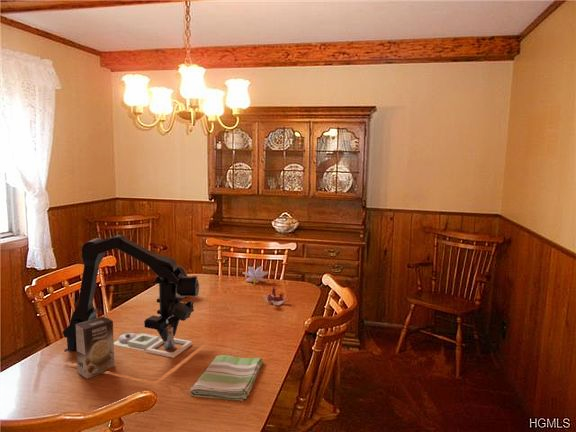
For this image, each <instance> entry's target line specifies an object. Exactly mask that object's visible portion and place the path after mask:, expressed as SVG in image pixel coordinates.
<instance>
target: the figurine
mask: <svg viewBox="0 0 576 432" xmlns="http://www.w3.org/2000/svg"><path fill="white" fill-rule="evenodd" d="M276 287H278V286H277V285H274V286H273V287H271V288H272V289H271V293H269V294H267V296H266V295H265V294H262V296H261V297H262V298H263V299H264V300H265V302H266V303H267V304H268V303H272V304H273V305H274V306H279V307H280V305H282V304H283V303H285V302H287V301H288V298H284V295H285V292H280V293H279V296H277V295H276V291H277V288H276ZM267 304H266V305H267Z"/></svg>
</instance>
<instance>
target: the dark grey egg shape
mask: <svg viewBox="0 0 576 432" xmlns="http://www.w3.org/2000/svg"><path fill="white" fill-rule="evenodd" d="M177 266H178V268H179V269H180V270H181V272H182V273H183V274H184V276H188V273H187V271H186V269H185V268H184V267H183V266H180V265H177ZM174 275H175V274H174ZM176 295H177V297H179V298H180V300H181V299H184V298H186V297H187V296H180V295H178V293H177V284H176Z"/></svg>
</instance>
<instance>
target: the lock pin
mask: <svg viewBox="0 0 576 432" xmlns="http://www.w3.org/2000/svg"><path fill="white" fill-rule="evenodd" d="M174 338H175V336H173V326H171V325H170V326H169V327H168V329H167V341H166V342H165V341H163V342H164V343H163V348H164V351H167V352H170V351H173V350H174V349H175V342H174Z"/></svg>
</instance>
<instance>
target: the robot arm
mask: <svg viewBox="0 0 576 432" xmlns="http://www.w3.org/2000/svg"><path fill="white" fill-rule="evenodd" d="M115 249H116V250H119V251H120V252H122V253H124V254H126V255H127V256H129V257H132V258H133V259H136V260H137V261H139V262H141V263H143V264H144V265H147V267H148V268H149V269H150V270H151V271H152V272H153V273H154V274H156V277H155V279H154V280H153V281H152V284H154V285H158V291H159V292H158V298H157V299H156V303H158V304H159V309H158V310H156V314H158V315H159V316H158V315H151V316H149V317H147V318H146V319H145V320H144V322H143V325H144V328H147V329H152V330H155V331H157V333H158V334H159V337H161V338H160V339H162V340H163V341H165V342H166V341H167V329H168V327H169V326H170V325H171V326H173V336H174V337H175V336H176V332H177V330H178V327H179V323H180V322H181V321H183V322H185V321H186V320H187V319H189V318H191V315H192V313H193V312H194V310H195V309H194V302H193V301H191V300H189V301H186V302H181V299H180V298H179V297H177V295H176V284H177V293H178V295H180V296H186V297H198V295H199V294H200V293H199V292H200V283H199V279H198V276H197V275H191V276H188V275H187V276H184V274H183V273H182V272H181V270H180V269H179V268H178V266H179V265H178V262H177V260H176V259H175V258H172V257H169V256H167V255H164V254H163V255H162V254H157V253H154V252H153V251H151V250H149V249H147V248H145V247H143V246H141V245H140V244H138V243H136V242H135V241H133V240H131V239H129V238H127V237H126V236H124V235H122V234H117V235H116V236H110V237H108V238H104V239H102V238H99V237H96V238H93V239H91V240H89V241H86V242H85V243H84V244H83V245H82V247H81V259H82V262H83V272H82V278H81V283H80V289H79V290H80V291H79V296H78V301H77V305H76V307H75V309H74V311H73V312H72V314H71V317H70V320H69V325H68V326H67V327H66V328H65V329H64V330H63V331H62V335H63V337H64V338H66V345H67V347H66V348H65V349H64V350H63V351H64V352H68V351H71V352H77V343H76V324H77V323H81V322H84V321H88V320H92V319H96V318H98V317H97V313H98V311H99V308H95V307H94V298H95V297H94V296H95V290H96V285H97V279H98V274H99V268H100V265H101V263H102V261H103V259H104V258H105V254H106V252H110V251H112V250H115ZM174 274H175V275H174Z"/></svg>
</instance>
